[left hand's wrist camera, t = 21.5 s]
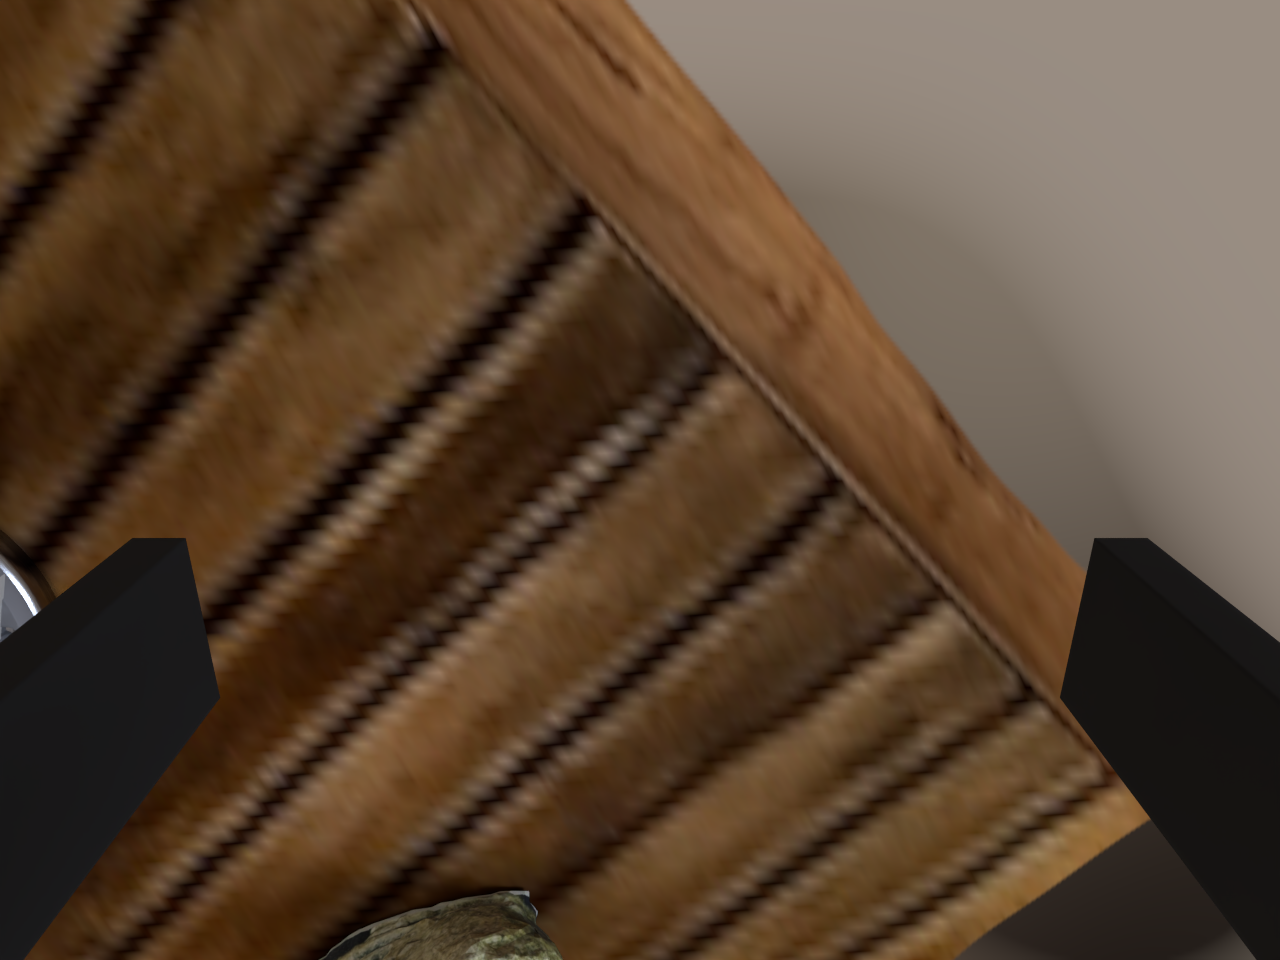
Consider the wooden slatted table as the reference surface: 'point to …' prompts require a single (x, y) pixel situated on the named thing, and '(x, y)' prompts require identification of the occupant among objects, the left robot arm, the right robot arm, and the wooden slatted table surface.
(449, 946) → the fossil
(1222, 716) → the left robot arm
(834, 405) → the wooden slatted table surface
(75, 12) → the wooden slatted table surface
